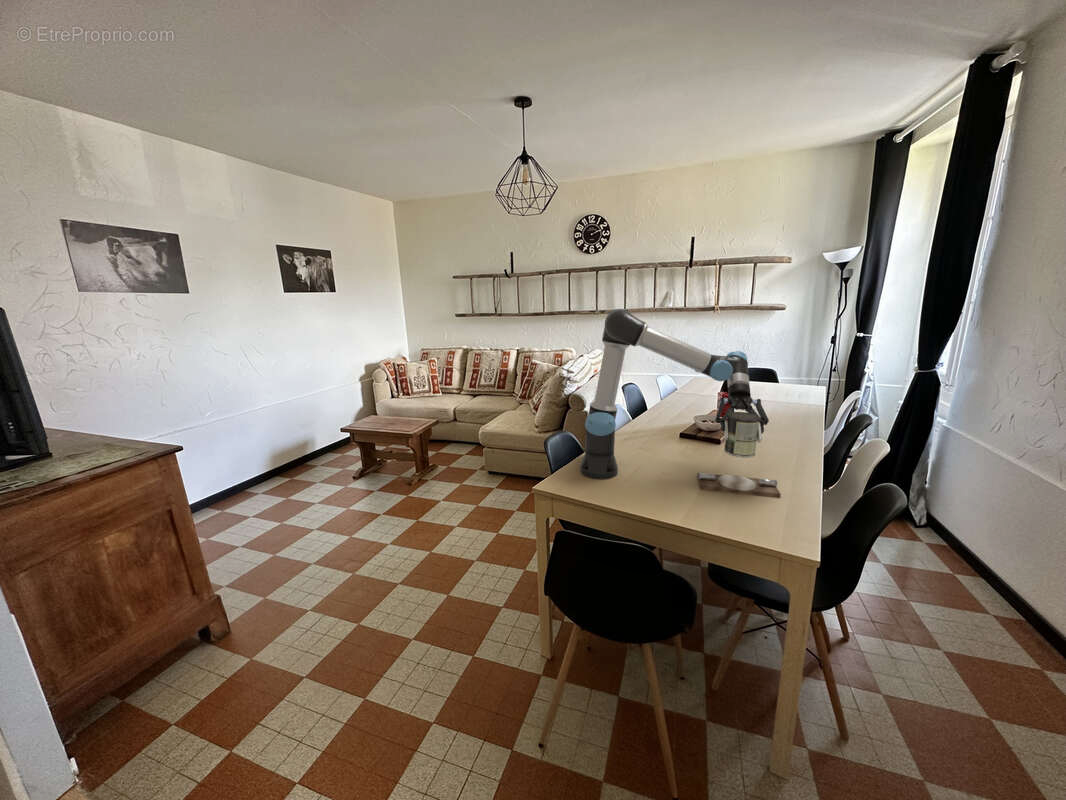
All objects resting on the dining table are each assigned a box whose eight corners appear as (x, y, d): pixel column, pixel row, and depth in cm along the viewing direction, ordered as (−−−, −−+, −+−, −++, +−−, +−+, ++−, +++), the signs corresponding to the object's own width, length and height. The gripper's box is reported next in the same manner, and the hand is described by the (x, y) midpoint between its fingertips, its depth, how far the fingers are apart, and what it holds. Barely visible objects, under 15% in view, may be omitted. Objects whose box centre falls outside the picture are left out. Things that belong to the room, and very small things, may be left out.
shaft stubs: (699, 480, 154) (700, 474, 154) (698, 477, 157) (699, 471, 156) (776, 487, 147) (777, 481, 147) (774, 485, 150) (775, 479, 149)
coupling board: (700, 489, 150) (701, 485, 149) (697, 475, 162) (697, 471, 161) (780, 498, 143) (781, 493, 142) (770, 482, 155) (771, 478, 155)
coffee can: (718, 452, 150) (722, 415, 147) (732, 445, 156) (735, 410, 153) (747, 460, 142) (752, 421, 139) (760, 453, 149) (764, 415, 145)
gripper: (769, 394, 156) (775, 446, 145) (705, 391, 162) (707, 442, 151) (774, 383, 150) (782, 437, 139) (708, 380, 156) (710, 432, 145)
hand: (742, 439), depth 145 cm, fingers closed on coffee can, 10 cm apart
